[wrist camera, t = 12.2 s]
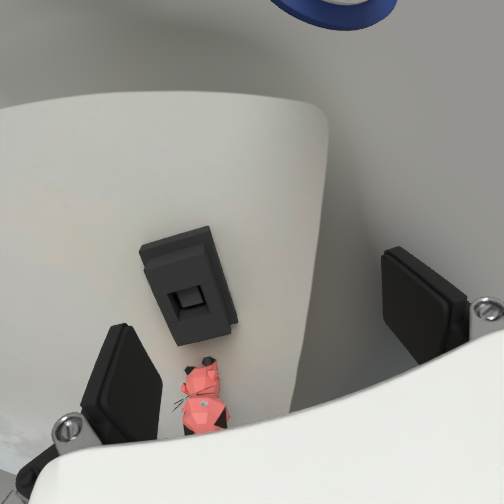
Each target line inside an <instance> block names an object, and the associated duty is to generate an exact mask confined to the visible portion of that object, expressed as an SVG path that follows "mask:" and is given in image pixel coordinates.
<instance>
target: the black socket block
mask: <svg viewBox="0 0 504 504" xmlns="http://www.w3.org/2000/svg"><path fill="white" fill-rule="evenodd" d="M144 273H145V275H146V277H147V280H148V282H149V285H150V287H151V289H152V292H153V294H154V296H155V298H156V300H157V303H158V305H159V307H160V309H161V312H162V314H163V316H164V318H165V320H166V323H167V325H168V327H169V329H170V331H171V334H172V336H173V338H174V340H175V342H176V344H177V346H183V345H187V344H191V343H195V342H200V341H204V340H208V339H212V338H216V337H220V336H224V335H228V334H231V325H230V318H229V315H228V312H227V310H226V307H225V304H224V301H223V298H222V295H221V292H220V289H219V286H218V283H217V280H216V277H215V274H214V271H213V268H212V265H211V262H210V259H209V256H208V253H207V250H206V246H205V243H202V244H198V245H195V246H191V247H188V248H184V249H181V250H177V251H174V252H171V253H167V254H164V255H160V256H157V257H153V258H150V259H148V262H147V264H146V266H145V268H144ZM198 285H200V286H201V289H202V291H203V294H204V297H205V300H206V301H205V302H203V303H199V304H195V305H192V306H188V307H184V308H183V307H182V308H181V307H180V305H179V302H178V300H177V297H176V295H175V292H176V291H180V290H184V289H187V288H191V287H195V286H198Z"/></svg>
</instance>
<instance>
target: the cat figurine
mask: <svg viewBox="0 0 504 504" xmlns="http://www.w3.org/2000/svg"><path fill="white" fill-rule="evenodd" d="M202 364H203V366H204V368H199V369H198V368H196V367H187V368H186V369H185V372H186V374H187V375H188V376H187V378H186V384H185V383H183V385H182V386H181V390H182V391H183V392H184V393H185V394H187V395H189V394H190V395H189V396H191V397H190V398H189V399H188V400H187V399H186V400H187V402H186V403H185V405H184V407H183V408H182V418H183V426H184V433H185V436H187V435H194V434H200V433H206V432H211V431H216V430H220V429H221V428H224V429H227V422H228V420H229V418H230V415H229V413H228V410H227V408H226V406H225V404H224V403H223V402H222V400H221V399H219V398H218V393H219V391H220V383H219V378H218V373H217V372H216V371H217V362H216V360H215V359H213V358H211V357H206V358H204V359H203V362H202ZM189 396H187V397H189ZM187 397H186V398H187ZM182 400H184V399H182ZM182 400H180V401H182ZM180 401H178V402H180ZM178 402H176V403H178ZM182 402H183V401H182ZM182 402H181V403H182ZM176 403H175V404H176ZM181 403H180V404H181ZM180 404H179V405H180ZM179 405H178V406H179ZM178 406H177V407H178ZM177 407H176V408H177ZM176 408H175V409H176ZM175 409H174V410H175Z"/></svg>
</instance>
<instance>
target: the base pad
mask: <svg viewBox="0 0 504 504" xmlns="http://www.w3.org/2000/svg"><path fill="white" fill-rule="evenodd" d="M202 243H205V246H206V250H207V253H208V256H209V259H210V262H211V265H212V268H213V271H214V274H215V277H216V280H217V283H218V286H219V289H220V292H221V295H222V298H223V301H224V304H225V307H226V310H227V312H228V315H229V318H230V325H232V324H235V323H238V319H237V313H236V310H235V307H234V304H233V301H232V298H231V295H230V292H229V289H228V286H227V283H226V279H225V276H224V273H223V270H222V267H221V264H220V260H219V257H218V254H217V251H216V248H215V244H214V241H213V238H212V235H211V231H210V228H209V226H205V227H202V228H198V229H195V230H192V231H188V232H185V233H181V234H178V235H174V236H171V237H168V238H164V239H161V240H158V241H154V242H151V243H148V244H145V245H142V246H141V248H140V250H139V254H140V256H141V259H142V261H143V264H144V266H146V264H147V262H148V259H150V258H153V257H157V256H160V255H164V254H167V253H171V252H174V251H177V250H181V249H184V248H188V247H191V246H195V245H198V244H202ZM175 295H176V297H177V300H178V302H179V305H180V307H181V308H182V307H183V308H184V307H188V306H192V305H195V304H199V303H203V302H205V301H206V300H205V297H204V294H203V291H202V289H201V286H200V285H198V286H195V287H191V288H187V289H184V290H180V291H176V292H175Z"/></svg>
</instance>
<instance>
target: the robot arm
mask: <svg viewBox="0 0 504 504" xmlns="http://www.w3.org/2000/svg"><path fill="white" fill-rule="evenodd" d="M322 1H325V2H328V3H333V4H338V5H357V4H361V3H364V2H366V1H368V0H322ZM381 270H382V296H383V297H382V298H383V318H384V321H385V323H386V324H387V325H388V327H389V328H390V329H391V330H392V332H393V333H394V334H395V335H396V336H397V338H398V339H399V340H400V341H401V342H402V344H403V345H404V346H405V348H406V349H407V350H408V351H409V353H410V354H411V355H412V356H413V358H414V359H415V360H416V361H417V363H418V364H419V366H417V367H415V368H412V369H410V370H408V371H406V372H404V373H402V374H399V375H397V376H394V377H392V378H390V379H387V380H385V381H383V382H380V383H377V384H375V385H372V386H370V387H367V388H365V389H362V390H359V391H357V392H354V393H351V394H348V395H346V396H343V397H340V398H337V399H334V400H331V401H328V402H325V403H322V404H319V405H316V406H313V407H310V408H306V409H303V410H299V411H296V412H292V413H289V414H285V415H282V416H278V417H274V418H270V419H266V420H262V421H258V422H254V423H250V424H245V425H241V426H236V427H231V428H227V429H222V430H216V431H211V432H206V433H200V434H194V435H187V436H181V437H173V438H166V439H158V440H157V432H158V422H159V413H160V404H161V396H162V387H163V384H162V379H161V377H160V375H159V373H158V372H157V370H156V368H155V367H154V365H153V363H152V361H151V360H150V358H149V356H148V354H147V352H146V351H145V349H144V347H143V345H142V343H141V341H140V340H139V338H138V336H137V334H136V332H135V330H134V328H133V327H132V326H128V325H127V324H126V323H122V324H118V325H114V326H111V327H110V329H109V332H108V334H107V336H106V339H105V341H104V343H103V346H102V348H101V351H100V353H99V356H98V358H97V361H96V363H95V366H94V368H93V371H92V374H91V376H90V379H89V382H88V384H87V387H86V390H85V393H84V395H83V398H82V401H81V404H80V406H81V407H82V411H81V413H78V412H72V413H68V414H66V415H64V416H62V417H61V418H60V419H59V420H58V421H57V422H56V423H55V425H54V427H53V429H52V434H51V436H52V440H53V442H54V444H53V445H52V446H50V447H49V448H48V449H46V450H45V451H44V452H42V453H41V454H40V455H38V456H37V457H36V458H35V459H33V460H32V461H31V462H29V463H28V464H27V465H25V466H24V467H23V468H22V469H21V470H20V471H19V473H18V474H17V478H16V488H17V491H16V492H15V491H14V490H12V491H11V492H10V494H9V495H8V496H7V497H6V499H5V500H4V501H3V502H2V504H504V302H502V301H501V300H499V299H497V298H494V297H480V298H477V299H476V300H474V301H473V302H472V303H469V302H468V301H467V296H466V295H465V294H464V293H463V292H461V291H460V290H459V289H457V288H456V287H455V286H454V285H452V284H451V283H450V282H448V281H447V280H446V279H444V278H443V277H442V276H440V275H439V274H438V273H436V272H435V271H434V270H432V269H431V268H430V267H428V266H427V265H425V264H424V263H422V262H421V261H420V260H419V259H417V258H416V257H414V256H413V255H412V254H410V253H409V252H407V251H406V250H404V249H403V248H402V247H400V246H398V247H394V248H391V249H388V250H386V251H385V252H384V255H382V256H381Z"/></svg>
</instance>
